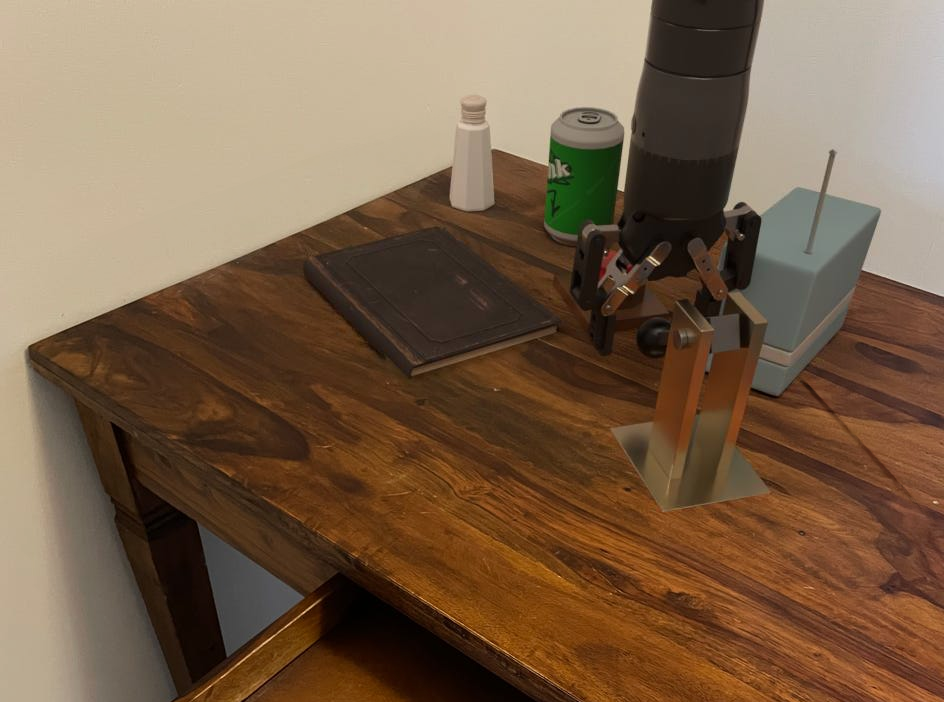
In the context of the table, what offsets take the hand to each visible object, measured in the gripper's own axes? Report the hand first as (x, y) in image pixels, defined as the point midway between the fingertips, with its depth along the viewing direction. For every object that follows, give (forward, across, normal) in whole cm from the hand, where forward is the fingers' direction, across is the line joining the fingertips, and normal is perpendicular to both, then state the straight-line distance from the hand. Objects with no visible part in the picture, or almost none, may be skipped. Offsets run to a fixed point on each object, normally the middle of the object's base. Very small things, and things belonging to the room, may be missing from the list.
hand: (651, 344), depth 78 cm
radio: (+6, +14, +5) cm, 16 cm away
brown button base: (+6, +3, +15) cm, 17 cm away
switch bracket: (+6, 0, -10) cm, 11 cm away
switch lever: (-2, 0, -6) cm, 6 cm away
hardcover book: (+6, -14, +20) cm, 26 cm away
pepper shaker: (+6, -3, +43) cm, 44 cm away
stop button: (+2, +3, +16) cm, 16 cm away
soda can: (+6, +6, +32) cm, 34 cm away
